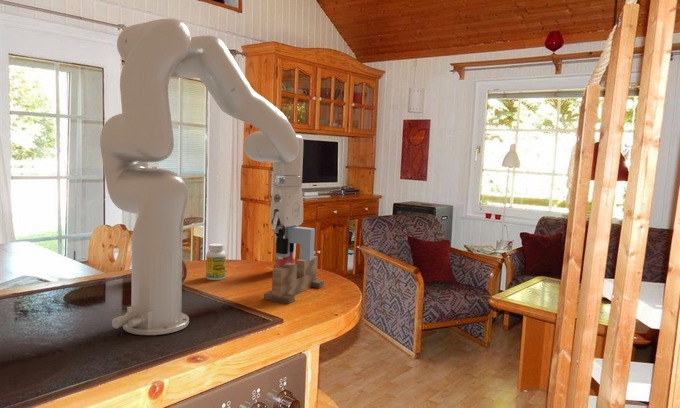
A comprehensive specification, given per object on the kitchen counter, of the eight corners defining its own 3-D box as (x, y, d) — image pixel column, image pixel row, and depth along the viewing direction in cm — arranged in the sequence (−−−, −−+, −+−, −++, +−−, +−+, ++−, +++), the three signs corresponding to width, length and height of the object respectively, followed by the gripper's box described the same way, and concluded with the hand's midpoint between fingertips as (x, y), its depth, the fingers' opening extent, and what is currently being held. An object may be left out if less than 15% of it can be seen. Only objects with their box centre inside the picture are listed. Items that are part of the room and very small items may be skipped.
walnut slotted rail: (288, 304, 122) (289, 271, 121) (263, 299, 124) (264, 267, 124) (324, 285, 140) (325, 257, 139) (301, 282, 143) (302, 254, 142)
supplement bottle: (219, 275, 147) (219, 242, 146) (229, 278, 143) (230, 245, 142) (202, 277, 143) (202, 243, 142) (212, 281, 139) (212, 246, 139)
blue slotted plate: (313, 259, 131) (315, 228, 130) (309, 260, 129) (310, 229, 128) (279, 254, 135) (280, 224, 134) (275, 256, 132) (276, 225, 132)
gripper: (284, 184, 122) (282, 259, 124) (314, 182, 137) (311, 249, 139) (257, 182, 125) (255, 256, 127) (289, 180, 140) (287, 246, 141)
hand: (284, 252), depth 133 cm, fingers closed on blue slotted plate, 2 cm apart
